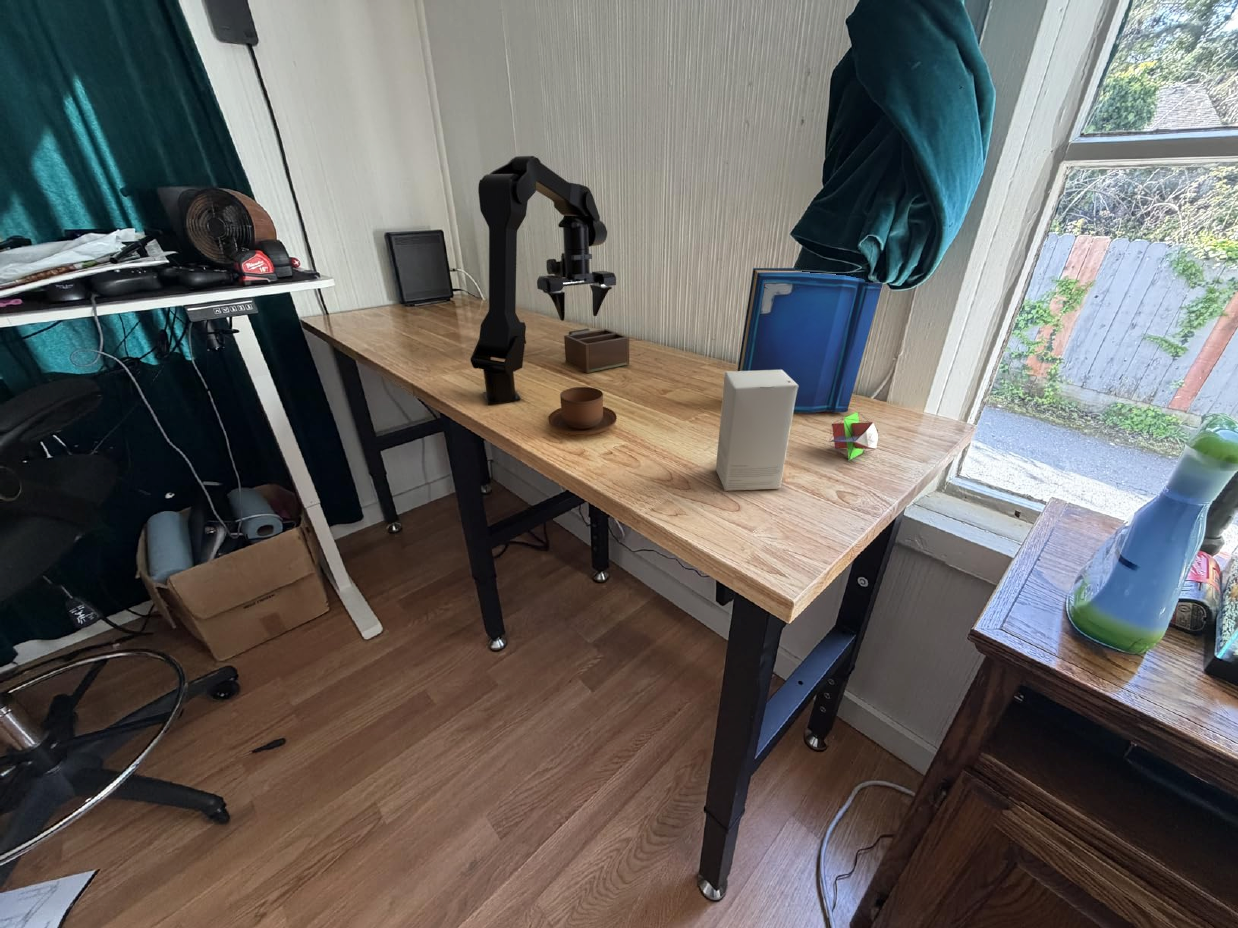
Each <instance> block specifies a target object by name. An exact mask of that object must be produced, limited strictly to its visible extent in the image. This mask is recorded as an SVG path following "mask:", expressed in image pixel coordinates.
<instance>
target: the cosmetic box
mask: <svg viewBox="0 0 1238 928" xmlns="http://www.w3.org/2000/svg"><path fill="white" fill-rule="evenodd" d="M798 387H799V386H798V385H797V384H796V383H795V382H794V381H793V380H792V379H791V378H790V377H789V376H788V375H787V374H786V373H785V372H784V371H783V370H759V371H738V370H733V371H730V370H728V371H724V377H723V389H722V399H721V408H720V409H721V410H720V420H719V431H718V440H717V452H716V461H715V470H716V473H717V475H718V478H719V480H720V482H721V485H722V487H723V490H724V491H725V492H727V491H728V492H731V491H751V490H753V491H754V490H779V489H780V488H782V487H781V486H782V482H783V475H784V469H785V464H786V463H785V462H786V456H787V453H788V452H787V451H788V445H789V440H790V439H789V438H790V432H791V428H792V423H793V422H792V421H793V416H794V413H793V411H794V405H795V399H796V394H797V390H798Z"/></svg>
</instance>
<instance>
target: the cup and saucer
mask: <svg viewBox="0 0 1238 928" xmlns="http://www.w3.org/2000/svg"><path fill="white" fill-rule="evenodd" d="M559 398H560V407H559V408H557V409H555V410H553V411H552V412H550V414H549V415H548V417H547V420H548V423H549V425H550V427H552V428H553V429H554V430H556V431H557V432H559V433H561V434H565V435H570V436H578V437H579V436H580V437H581V436H593V435H598V434H600V433H604V432H606V431H608V430H609V429H611V428H612V427H613V426H614V425H615V424H616V422H617V417H618V416H617V414H616V412H615V411H613V410H612V409H611V408H609V407H607V406H604V393H603V391H602V390H601V389H599V388H595V387H589V386H576V387H575V386H574V387H570V388H567V389H564V390H563V391H562V392H560V394H559Z"/></svg>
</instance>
